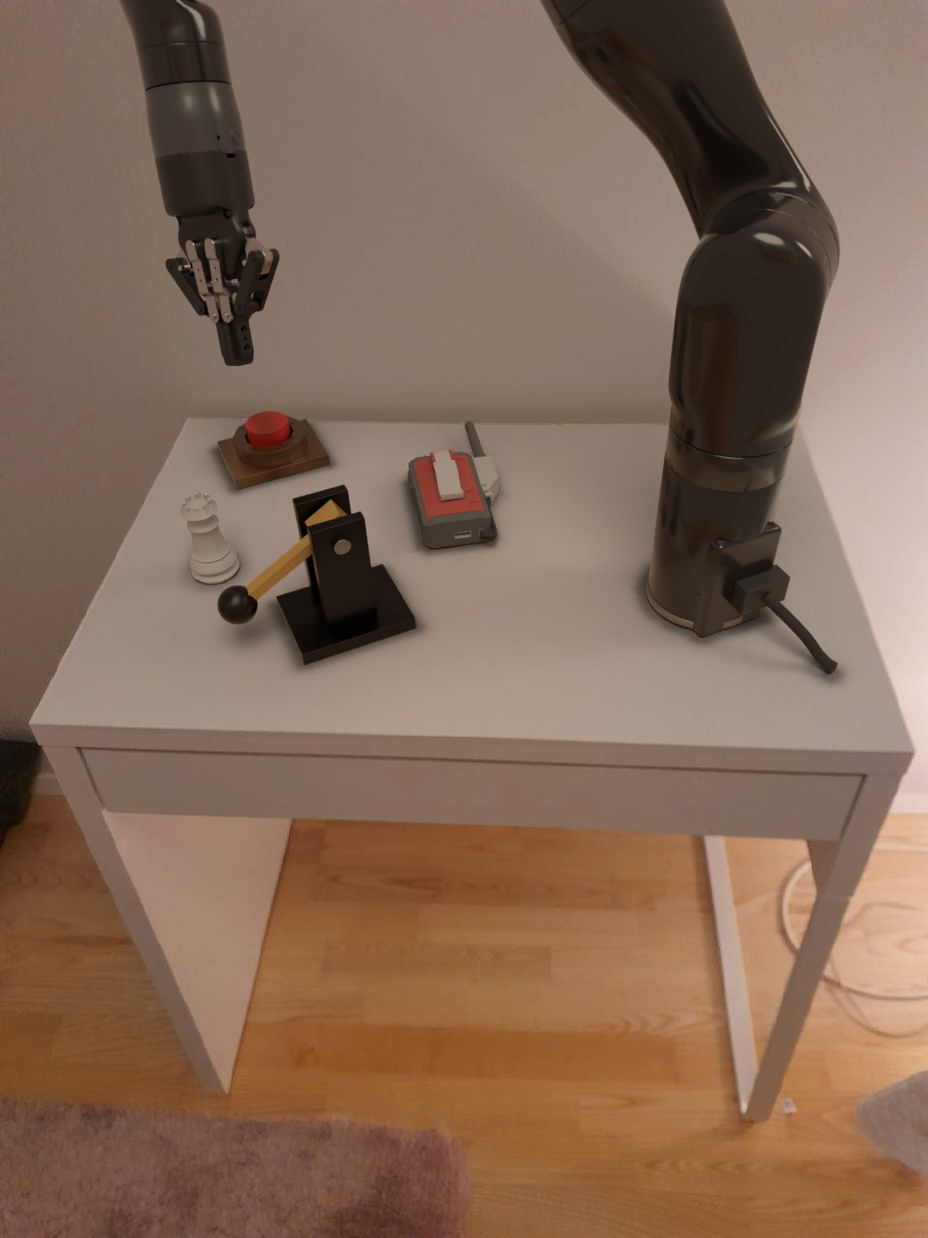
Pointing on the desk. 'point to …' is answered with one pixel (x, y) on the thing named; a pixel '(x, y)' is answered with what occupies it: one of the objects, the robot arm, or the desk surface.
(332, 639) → the black lever base
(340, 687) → the desk surface
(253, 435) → the button
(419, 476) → the walkie-talkie
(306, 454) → the block
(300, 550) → the lever
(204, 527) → the rook chess piece
